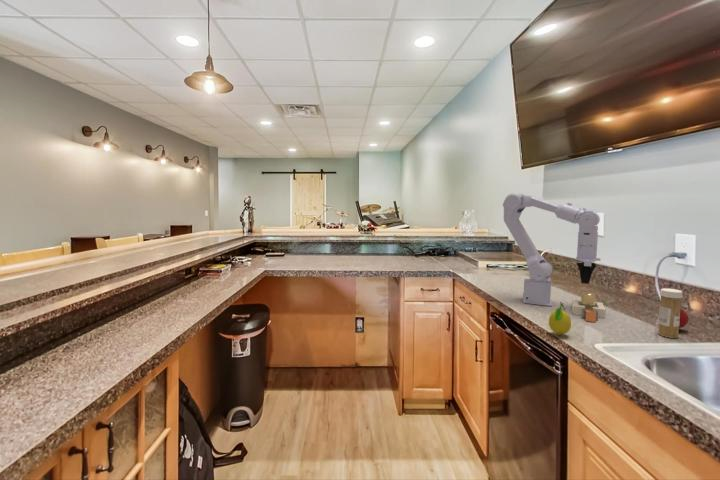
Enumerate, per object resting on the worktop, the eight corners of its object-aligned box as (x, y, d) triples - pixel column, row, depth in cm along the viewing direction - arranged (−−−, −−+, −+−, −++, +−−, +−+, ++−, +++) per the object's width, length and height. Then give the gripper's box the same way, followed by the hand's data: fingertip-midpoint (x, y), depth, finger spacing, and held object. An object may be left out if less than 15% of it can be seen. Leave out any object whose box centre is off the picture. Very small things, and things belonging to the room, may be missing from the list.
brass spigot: (580, 313, 115) (581, 293, 115) (580, 310, 119) (581, 291, 118) (594, 315, 113) (595, 295, 112) (594, 312, 116) (595, 292, 116)
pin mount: (581, 318, 110) (582, 310, 110) (581, 316, 112) (581, 308, 111) (597, 320, 108) (598, 312, 108) (597, 318, 109) (597, 310, 109)
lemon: (562, 330, 100) (563, 298, 99) (577, 338, 94) (579, 303, 93) (541, 331, 99) (543, 299, 98) (555, 339, 93) (557, 304, 92)
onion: (690, 334, 95) (692, 307, 95) (663, 330, 98) (665, 304, 98) (684, 328, 100) (686, 302, 100) (658, 324, 103) (661, 299, 103)
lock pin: (585, 320, 107) (586, 311, 107) (583, 314, 113) (584, 306, 113) (595, 322, 106) (596, 313, 106) (593, 316, 112) (593, 307, 112)
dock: (572, 314, 114) (573, 305, 114) (571, 307, 122) (572, 299, 122) (605, 318, 110) (605, 309, 110) (601, 311, 118) (602, 302, 117)
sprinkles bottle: (682, 339, 92) (686, 292, 91) (662, 337, 93) (666, 291, 92) (672, 333, 96) (676, 288, 95) (653, 331, 98) (657, 287, 96)
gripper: (603, 248, 108) (601, 288, 110) (599, 243, 121) (596, 280, 122) (577, 247, 112) (575, 286, 113) (575, 242, 124) (573, 278, 126)
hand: (584, 283), depth 118 cm, fingers closed
